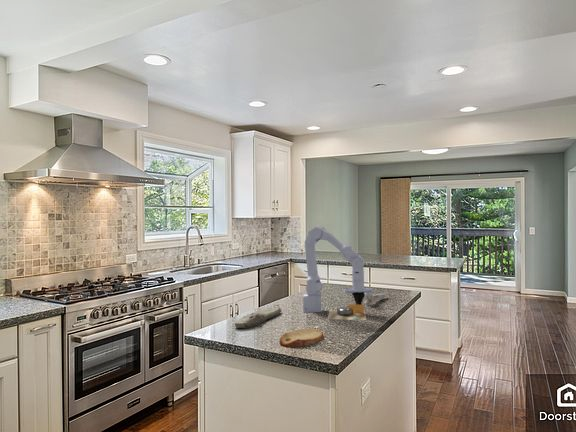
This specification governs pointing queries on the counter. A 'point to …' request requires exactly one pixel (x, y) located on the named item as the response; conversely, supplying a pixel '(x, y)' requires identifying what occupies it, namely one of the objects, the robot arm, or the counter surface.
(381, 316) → the counter surface
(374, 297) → the wrench
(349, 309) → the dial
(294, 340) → the bread slice
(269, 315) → the elongated rock
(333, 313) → the panel
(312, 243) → the robot arm
